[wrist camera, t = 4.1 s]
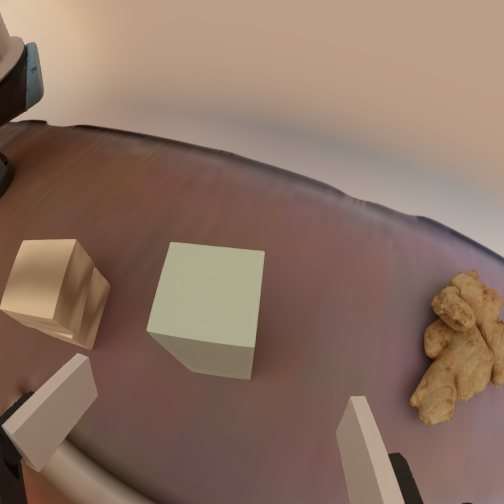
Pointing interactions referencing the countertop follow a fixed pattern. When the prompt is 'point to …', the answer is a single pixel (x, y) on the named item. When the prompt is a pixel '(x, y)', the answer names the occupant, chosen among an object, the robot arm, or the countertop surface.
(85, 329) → the beige wooden block
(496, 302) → the ginger root
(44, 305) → the slab upper
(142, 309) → the countertop surface
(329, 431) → the countertop surface
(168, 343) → the pale green block
